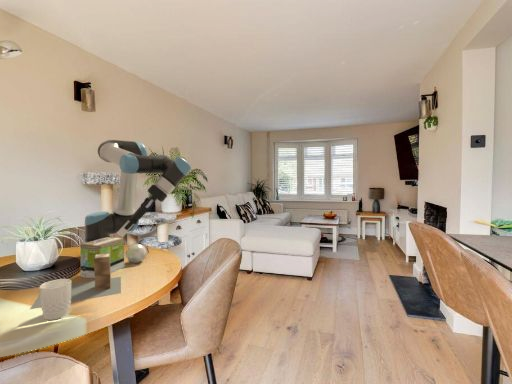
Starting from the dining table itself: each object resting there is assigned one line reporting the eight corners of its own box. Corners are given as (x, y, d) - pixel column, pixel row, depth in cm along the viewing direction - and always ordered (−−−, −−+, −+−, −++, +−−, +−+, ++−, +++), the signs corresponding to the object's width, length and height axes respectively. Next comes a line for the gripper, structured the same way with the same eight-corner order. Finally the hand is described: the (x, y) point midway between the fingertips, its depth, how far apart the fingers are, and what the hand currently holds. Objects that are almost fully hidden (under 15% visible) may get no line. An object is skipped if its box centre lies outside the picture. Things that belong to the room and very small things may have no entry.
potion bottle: (129, 268, 129) (140, 262, 144) (146, 256, 130) (155, 251, 145) (118, 253, 129) (130, 248, 144) (135, 241, 130) (145, 237, 145)
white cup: (54, 308, 86) (53, 278, 86) (78, 309, 86) (77, 278, 86) (33, 321, 78) (32, 288, 78) (59, 322, 78) (58, 289, 78)
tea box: (100, 280, 111) (99, 245, 110) (80, 278, 113) (79, 243, 112) (125, 268, 125) (124, 237, 125) (106, 266, 127) (105, 236, 127)
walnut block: (110, 283, 105) (109, 253, 105) (110, 288, 101) (109, 256, 100) (96, 286, 103) (95, 254, 102) (95, 290, 99) (93, 258, 98)
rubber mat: (120, 278, 113) (120, 276, 113) (121, 294, 97) (121, 292, 97) (43, 289, 101) (43, 288, 101) (29, 310, 85) (29, 309, 85)
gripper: (152, 183, 114) (112, 226, 109) (154, 183, 103) (109, 232, 97) (166, 194, 117) (128, 237, 111) (169, 196, 105) (127, 244, 100)
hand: (119, 235), depth 104 cm, fingers closed
